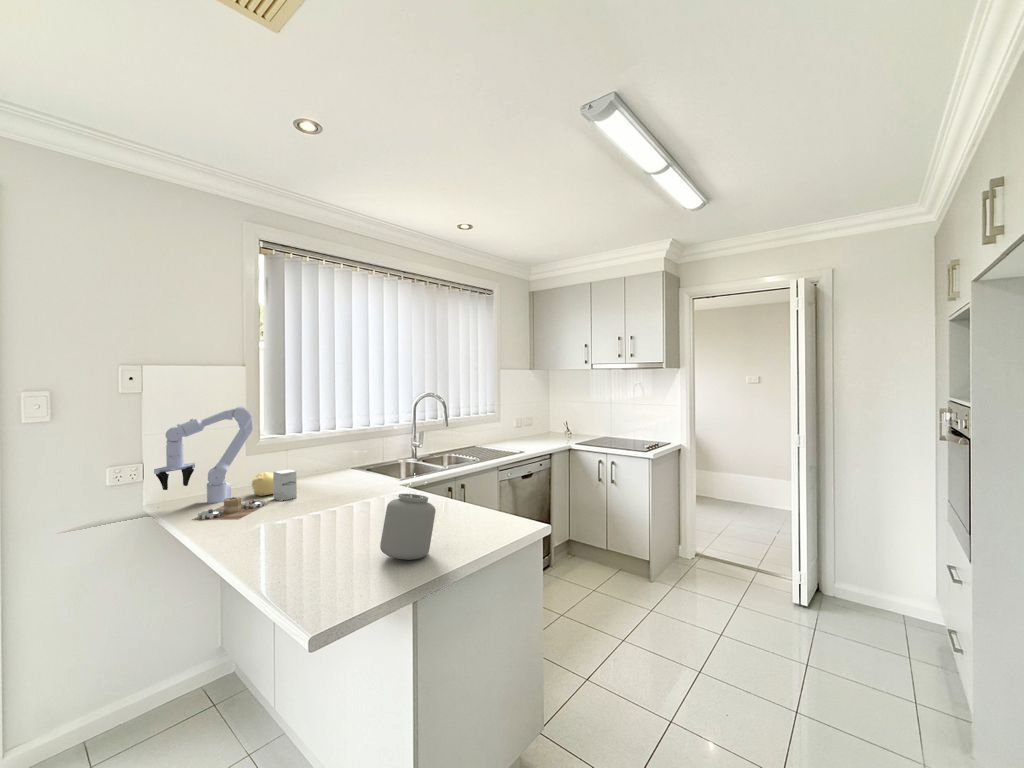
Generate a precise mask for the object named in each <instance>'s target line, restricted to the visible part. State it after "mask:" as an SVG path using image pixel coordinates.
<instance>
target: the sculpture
mask: <svg viewBox="0 0 1024 768" xmlns="http://www.w3.org/2000/svg"><path fill="white" fill-rule="evenodd" d="M251 487H252V492H253V493H254V494H256V495H257V496H258V497H262V496H269V495H274V489H273V472H270V471H265V472H259V473H258V474H257V475H256V476H255V477H254V479H253V480H252V481H251Z"/></svg>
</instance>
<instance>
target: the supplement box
mask: <svg viewBox="0 0 1024 768" xmlns="http://www.w3.org/2000/svg"><path fill="white" fill-rule="evenodd" d="M272 473H273V489H274V494H273V500H275V499H276V501H278V500H279V502H283V500H284V501H288V500H293V499H297V498H296V497H298V496H297V493H298V492H297V489H298V488H297V470H293V469H284V470H276V471H273V472H272ZM292 498H293V499H292Z"/></svg>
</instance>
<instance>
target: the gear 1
mask: <svg viewBox="0 0 1024 768" xmlns="http://www.w3.org/2000/svg"><path fill="white" fill-rule="evenodd" d="M215 509H216V510H215ZM215 509H212V508H210V509H208V510H204V511H201V512H198V513H197V517H198V519H202V520H201V521H206V520H205V519H209V518H210V519H213V518H215V517H217V518H218V517H220V516H222V515H224V511H223V510H219V509H217V508H215Z"/></svg>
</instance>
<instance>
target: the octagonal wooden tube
mask: <svg viewBox="0 0 1024 768" xmlns="http://www.w3.org/2000/svg"><path fill="white" fill-rule="evenodd" d="M241 504H242V497H241V496H231V498H227V499H224V502H223V506H224V512H225V513H235V512H239V511H241Z"/></svg>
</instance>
